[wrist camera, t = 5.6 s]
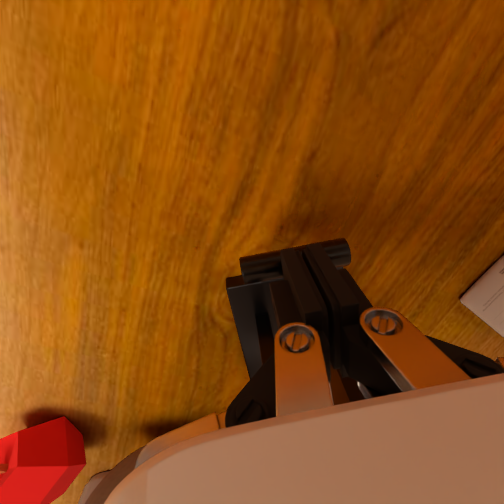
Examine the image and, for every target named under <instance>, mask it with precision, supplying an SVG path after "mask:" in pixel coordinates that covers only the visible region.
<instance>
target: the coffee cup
mask: <svg viewBox="0 0 504 504" xmlns="http://www.w3.org/2000/svg"><path fill="white" fill-rule="evenodd" d="M109 472H110V471H106V472H102V473H99V474H97V475H95V476H93V477H92V478H91V479H90V481H89V483H88V484H86V485H85V488H84V490H83V493H82V495H81V498H80V500H79V503H78V504H85V502H86V500H87V499H88V497H89V496H90V495H91V493H92V492H93V491H94V489H95V488H96V487H97V485H98V484H99V483H100V482H101V481H102V479H103V478H104V477H105V476H106V475H107V474H108V473H109Z"/></svg>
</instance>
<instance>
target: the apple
mask: <svg viewBox="0 0 504 504" xmlns="http://www.w3.org/2000/svg"><path fill="white" fill-rule="evenodd" d="M85 465H86V458H85V450H84V441H83V435H82V434H81V433H80V432H79V431H78V429H77V428H76V427H75V426H74V425H73V424H72V423H71V422H70V421H69V420H68V419H67V418H66V417H65V416H63V417H60V418H57V419H54V420H51V421H48V422H45V423H42V424H39V425H36V426H33V427H30V428H27V429H24V430H21V431H18V432H16V433H13V434H11V435H9V436H6V437H4V438H2V439H0V504H50V503H51V502H53V501H54V500H55V499H57V498H58V497H59V496H61V495H62V494H63V493H64V492H65V491H66V490H67V488H68V487H69V486H70V484H71V483H72V482H73V481H74V479H75V478H76V477H77V475H78V474H79V473H80V471H81V470H82V469H83V467H84V466H85Z"/></svg>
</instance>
